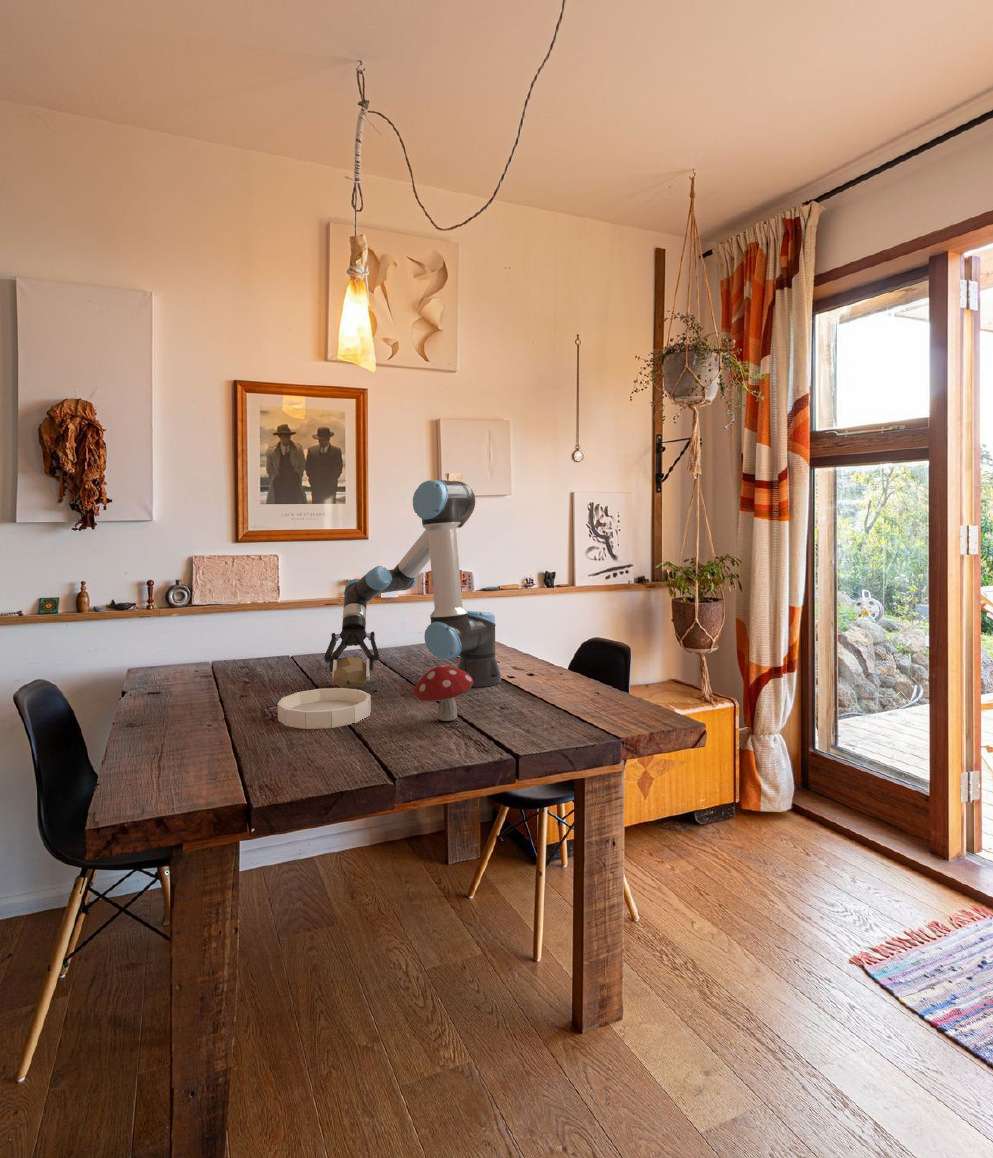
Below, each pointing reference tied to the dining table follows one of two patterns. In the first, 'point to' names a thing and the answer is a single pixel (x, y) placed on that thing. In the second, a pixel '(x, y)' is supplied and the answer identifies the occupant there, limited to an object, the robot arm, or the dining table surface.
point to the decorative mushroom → (443, 689)
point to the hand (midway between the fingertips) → (350, 679)
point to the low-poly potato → (350, 673)
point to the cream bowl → (324, 708)
